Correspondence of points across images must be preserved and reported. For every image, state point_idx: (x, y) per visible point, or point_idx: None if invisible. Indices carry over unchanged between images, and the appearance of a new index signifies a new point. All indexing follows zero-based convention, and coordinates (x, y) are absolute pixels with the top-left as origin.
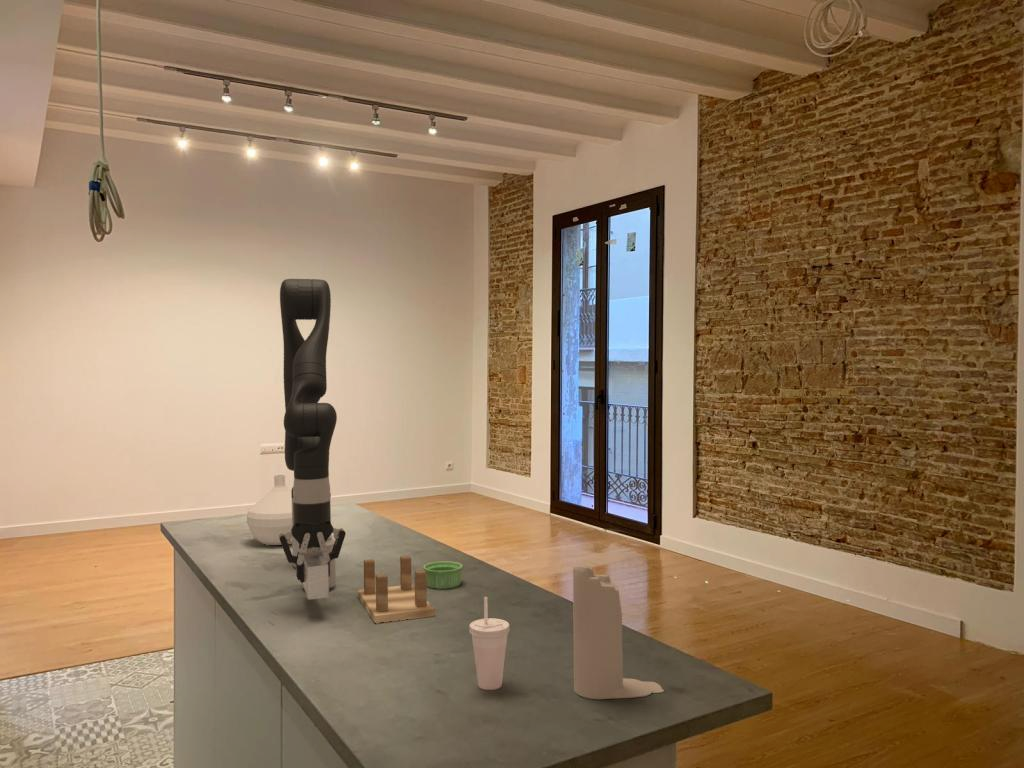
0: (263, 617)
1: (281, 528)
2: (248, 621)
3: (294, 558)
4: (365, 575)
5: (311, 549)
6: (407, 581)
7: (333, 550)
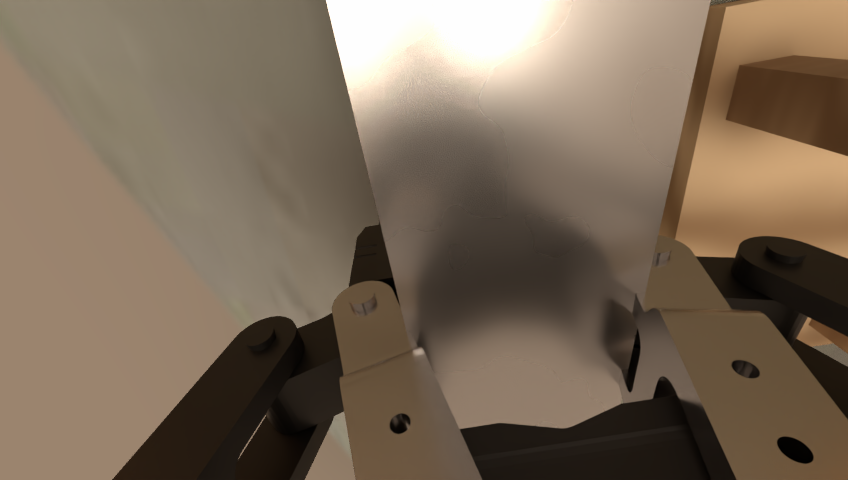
0: (246, 241)
1: None
2: (201, 275)
3: (334, 405)
4: (832, 147)
5: (542, 86)
6: None
7: (798, 299)
